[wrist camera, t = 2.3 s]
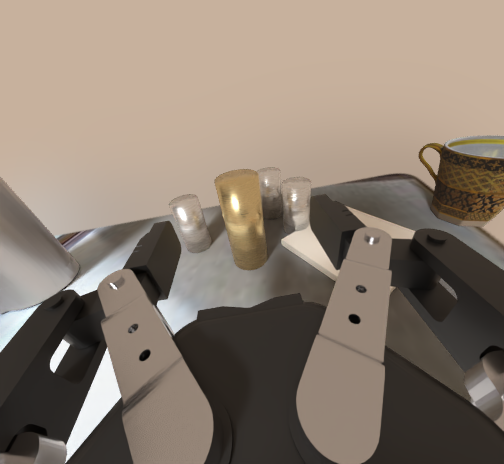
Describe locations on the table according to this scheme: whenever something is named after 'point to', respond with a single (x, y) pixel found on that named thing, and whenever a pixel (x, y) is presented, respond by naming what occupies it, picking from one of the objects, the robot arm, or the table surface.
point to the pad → (314, 254)
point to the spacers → (270, 188)
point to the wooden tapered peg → (243, 217)
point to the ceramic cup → (468, 180)
